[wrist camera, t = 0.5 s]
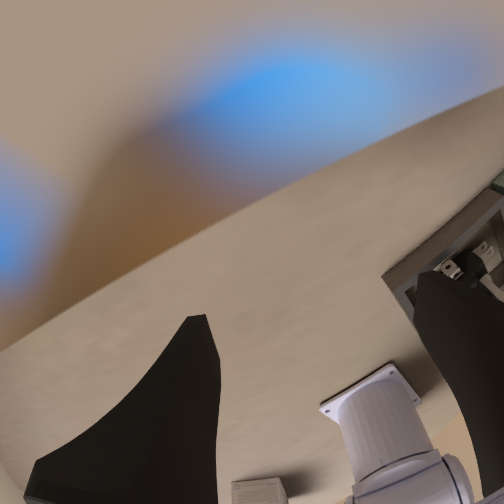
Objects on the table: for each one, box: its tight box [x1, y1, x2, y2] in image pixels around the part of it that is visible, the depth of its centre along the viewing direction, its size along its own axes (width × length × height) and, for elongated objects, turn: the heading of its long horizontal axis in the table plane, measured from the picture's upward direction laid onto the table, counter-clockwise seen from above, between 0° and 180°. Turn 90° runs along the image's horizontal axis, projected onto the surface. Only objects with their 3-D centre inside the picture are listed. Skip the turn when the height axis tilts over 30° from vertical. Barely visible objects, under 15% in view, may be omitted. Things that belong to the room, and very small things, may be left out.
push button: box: [441, 241, 504, 302], centre depth 17 cm, size 7×5×10 cm
